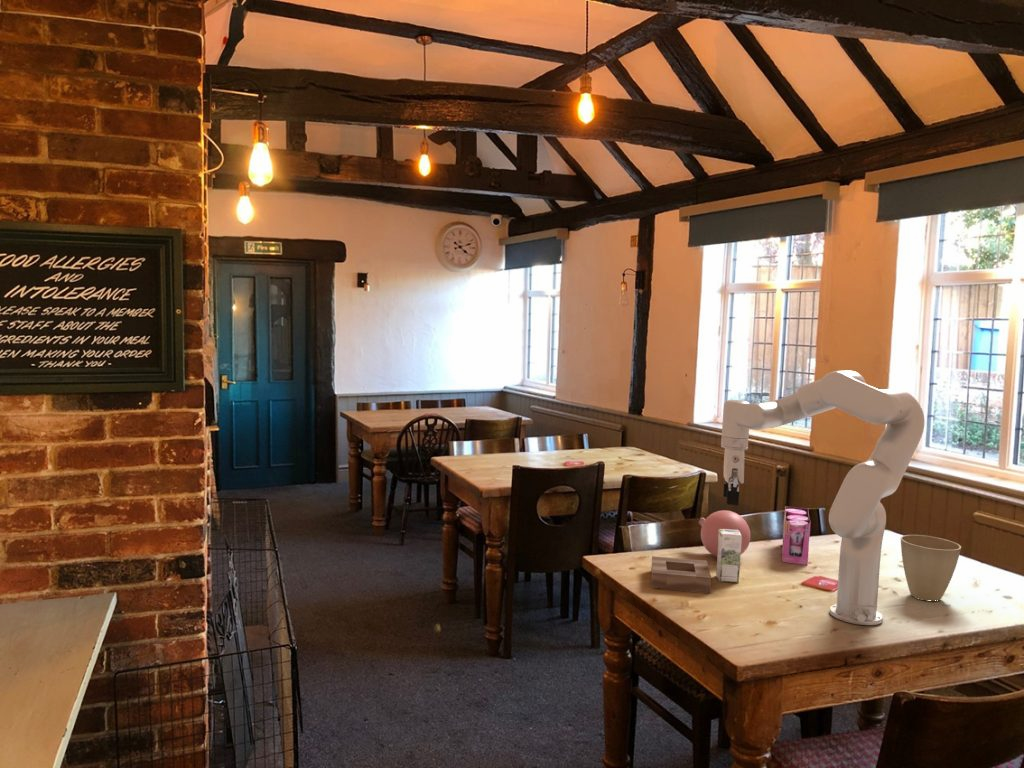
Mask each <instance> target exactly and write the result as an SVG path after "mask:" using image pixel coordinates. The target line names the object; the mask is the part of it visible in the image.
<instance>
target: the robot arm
mask: <svg viewBox="0 0 1024 768" xmlns="http://www.w3.org/2000/svg"><path fill="white" fill-rule="evenodd" d="M834 409H838V410H840V411H843V413H844V412H845V413H847V414H849V415H851V416H853V417H856V418H857V419H859V420H861V421H864V422H867V423H869V424H872V425H878V426H880V425H881V426H882V425H885V426H886V427H885V429H884V430H883V432H882V433H881V435H880V436H879V438H878V440H877V442H876V444H875V447H874V449H873V450H872V452H871V454H870V456H869V458H868V459H867V460H866V461H863V462H860V463H857V464H855V465H854V466H853V467H851V469H850V470H849V471H848V472H847V474H846V476H845V477H844V479H843V481H842V483H841V485H840V486H839V490H838V491H837V494H836V496H835V499H834V500H833V503H832V504H831V507H830V509H829V512H828V513H829V514H828V522H829V523H828V524H829V526H830V528H831V530H832V531H833V533H834V534H835V535H837V536H838V537H840V538H841V540H840V548H839V549H840V550H839V561H838V574H837V575H838V577H837V579H838V580H837V589H836V590H837V591H836V592H837V593H836V595H837V596H836V603H835V604H832V605H831V606H830V607H829V613H830V615H831V616H833V617H834V618H835V619H838V620H839V621H840V620H841V621H842V622H846V623H850V624H854V625H860V626H877V625H879V624H880V625H881V624H882V623H883V621H884V616H883V614H882V613H881V612H879V611H878V610H877V609H878V599H879V598H878V596H879V595H878V594H879V585H880V584H879V582H880V569H881V568H880V567H881V557H882V547H883V540H884V533H885V529H886V524H887V513H886V509H885V507H884V505H883V503H881V500H882V499H883V498H886V497H888V496H891V495H893V494H894V493H895V492H896V491H897V490H898V488H899V486H900V484H901V481H902V479H903V477H904V475H905V473H906V471H907V469H908V467H909V465H910V463H911V461H912V458H913V456H914V454H915V452H916V450H917V448H918V446H919V444H920V441H921V439H922V437H923V434H924V430H925V421H926V420H925V414H924V411H923V408H922V407H921V405H920V403H919V401H918V399H916V398H915V397H914V396H913V395H912V394H911V393H909V392H907V391H906V390H903V389H900V388H886V389H885V388H884V389H878V388H876V387H874V386H872V385H869V384H867V382H866V380H865V378H864V376H863V375H861V374H860V373H859V372H857V371H854V370H834V371H830V372H828V373H826V374H825V375H823V376H822V377H821V378H820V379H816V380H814V381H811V382H809V383H805V384H802V385H801V386H799V387H798V388H797V390H796V392H794V393H792V394H789V395H787V396H784V397H781V398H778V399H776V400H771V401H764V402H763V401H761V402H754V403H753V402H752V403H750V402H748V401H746V400H739V399H729V400H726V401H725V402H724V404H723V411H722V412H723V414H722V425H721V426H722V428H721V442H720V447H721V448H723V449H724V454H723V455H724V456H723V457H724V458H723V479H724V482H723V491H722V493H723V494H722V495H723V497H724V498H726V504H727V505H728V506H738V505H739V499H740V485H741V484H744V482H745V451H747V450H748V449H749V436H750V430H754V431H755V430H756V431H759V430H765V429H773V428H774V429H775V428H778V427H782V426H784V425H788V424H791V423H794V422H797V421H800V420H803V419H806V418H811V417H812V416H815V415H818V414H822V413H824V412H828V411H831V410H834Z"/></svg>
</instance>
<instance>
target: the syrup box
mask: <svg viewBox="0 0 1024 768" xmlns="http://www.w3.org/2000/svg"><path fill="white" fill-rule="evenodd" d="M741 542H742V535H741V534H740V532H739V531H738V530H729V529H719V535H718V552H717V557H716V572H715V575H716V578H717V580H718V582H720V583H721V582H724V583H736V584H737V583H739V582H740V569H741V555H742V554H741Z"/></svg>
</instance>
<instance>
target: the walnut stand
mask: <svg viewBox="0 0 1024 768" xmlns="http://www.w3.org/2000/svg"><path fill="white" fill-rule="evenodd" d="M650 570H651V572H652V574H651V589H653V588H660V589H659V590H664V589H668V590H667V591H675V590H679V591H678V592H686V591H689V593H700V594H711V591H712V590H711V589H712V575H711V571H710V568H709V563H708V561H707V560H704V559H703V560H701V559H692V558H691V559H688V558H680V557H679V558H677V557H665V556H655V555H653V556H651V569H650Z"/></svg>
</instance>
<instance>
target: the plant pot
mask: <svg viewBox="0 0 1024 768" xmlns="http://www.w3.org/2000/svg"><path fill="white" fill-rule="evenodd" d="M900 549H901V551H900V552H901V557H902V558H901V559H902V565H903V570H904V576H905V579H906V580H905V581H906V584H907V587H908V590H909V593H910V596H911V595H912V596H914V597H916V598H919V599H923V600H931V601H935V600H936V601H937V600H940V599H941V600H942V598H943V596H944V595H945V592H946V591H947V588H948V587H949V584H950V582H951V580H952V578H953V575H954V573H955V570H956V567H957V565H958V561H959V557H960V554H961V550H962V546H961V545H960V544H959V543H957V542H955V541H951V540H948V539H945V538H940V537H936V536H931V535H923V534H907V535H906V534H905V535H902V536H900ZM912 596H911V597H912ZM914 597H913V598H914ZM916 598H915V599H916ZM919 599H918V600H919ZM941 600H940V601H941Z"/></svg>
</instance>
